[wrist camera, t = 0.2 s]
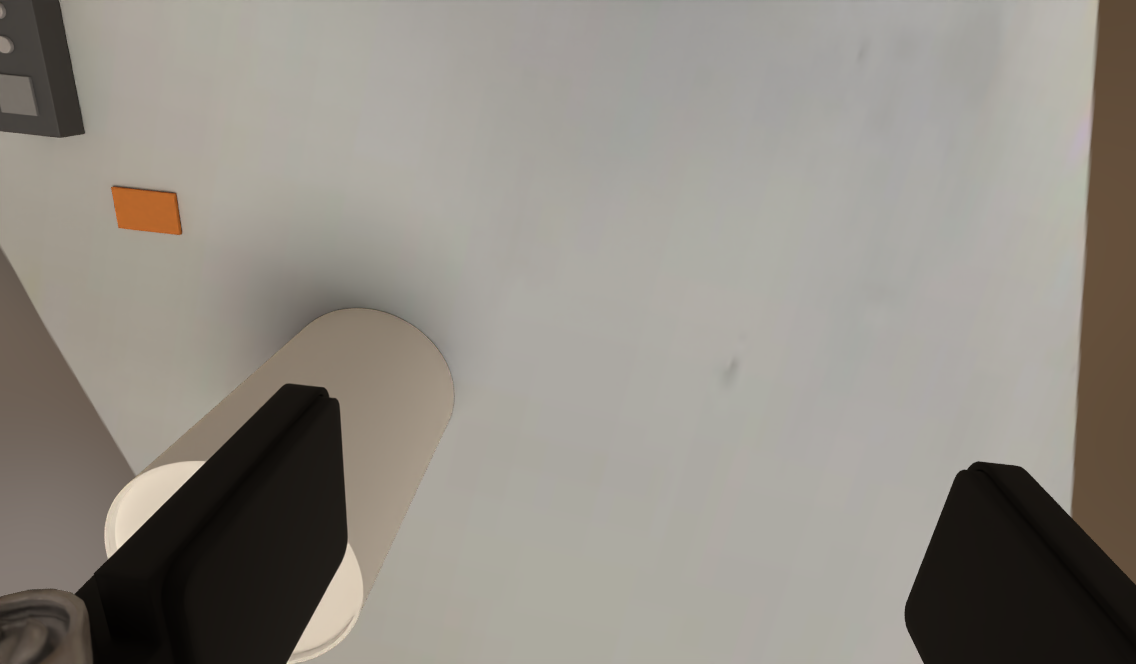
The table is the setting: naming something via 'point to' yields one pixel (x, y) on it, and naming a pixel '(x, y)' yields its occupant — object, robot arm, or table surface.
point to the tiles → (146, 210)
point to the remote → (36, 71)
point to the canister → (369, 440)
